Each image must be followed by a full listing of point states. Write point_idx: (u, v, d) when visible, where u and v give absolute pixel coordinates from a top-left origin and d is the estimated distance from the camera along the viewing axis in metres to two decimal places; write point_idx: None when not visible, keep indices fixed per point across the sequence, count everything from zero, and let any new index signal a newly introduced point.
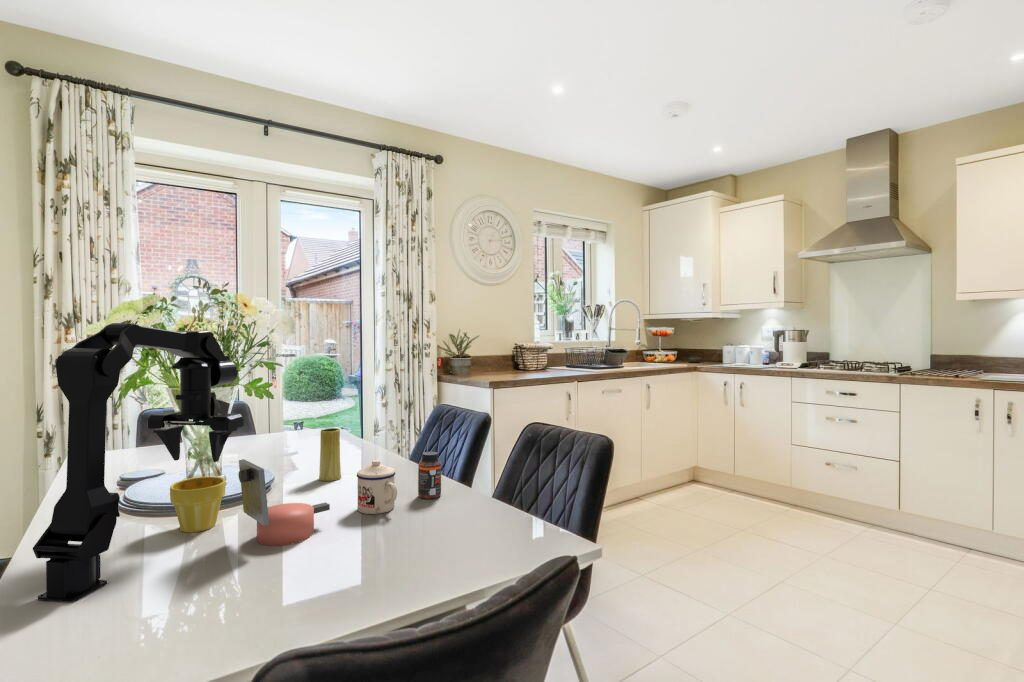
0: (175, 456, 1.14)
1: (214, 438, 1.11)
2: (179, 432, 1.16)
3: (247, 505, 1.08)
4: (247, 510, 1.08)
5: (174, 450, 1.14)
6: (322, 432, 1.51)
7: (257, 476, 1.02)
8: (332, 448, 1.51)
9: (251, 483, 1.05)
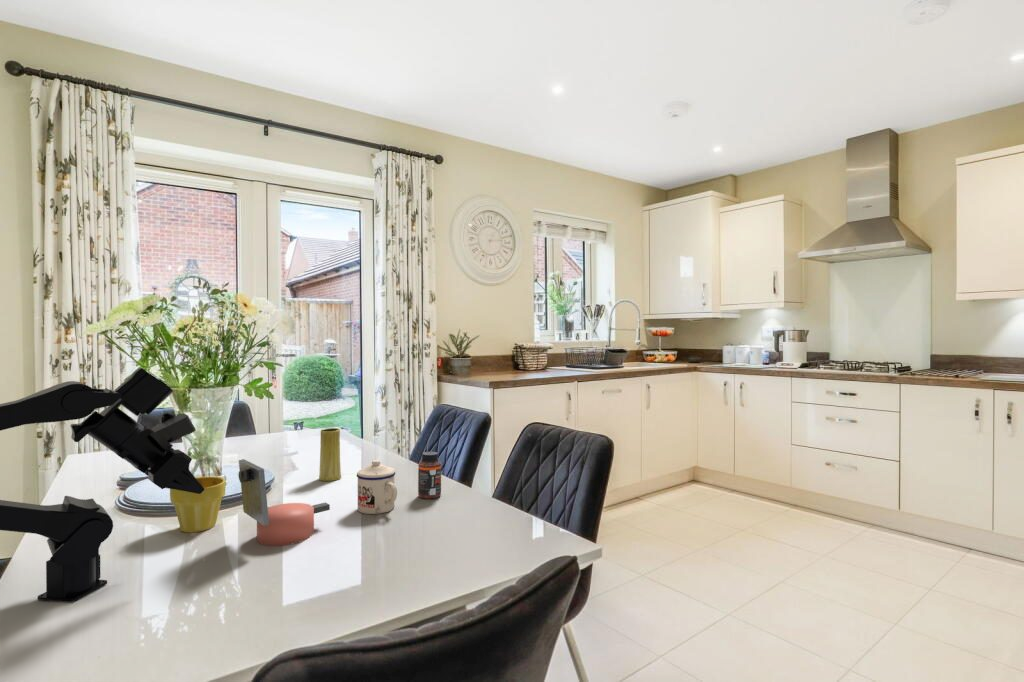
0: None
1: (168, 487, 0.91)
2: None
3: (247, 505, 1.08)
4: (247, 510, 1.08)
5: None
6: (322, 432, 1.51)
7: (257, 476, 1.02)
8: (332, 448, 1.51)
9: (251, 483, 1.05)
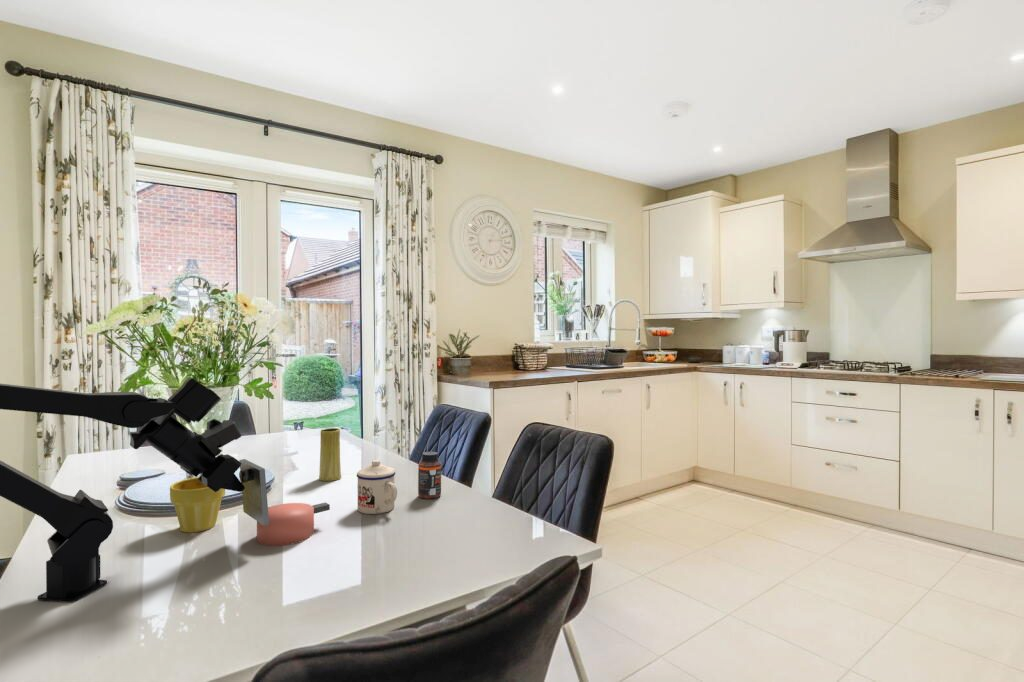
0: None
1: None
2: None
3: (247, 505, 1.08)
4: (247, 510, 1.08)
5: None
6: (322, 432, 1.51)
7: (258, 476, 1.02)
8: (332, 448, 1.51)
9: (252, 483, 1.05)
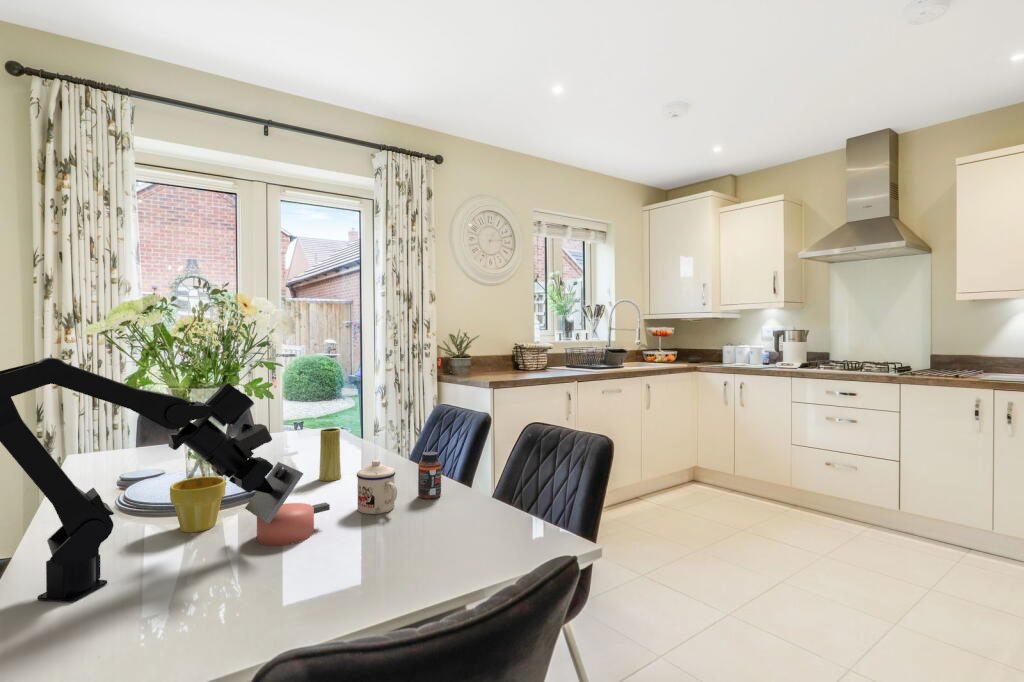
0: None
1: None
2: None
3: (256, 502, 1.09)
4: (251, 506, 1.09)
5: None
6: (322, 432, 1.51)
7: (293, 476, 1.07)
8: (332, 448, 1.51)
9: (279, 482, 1.09)
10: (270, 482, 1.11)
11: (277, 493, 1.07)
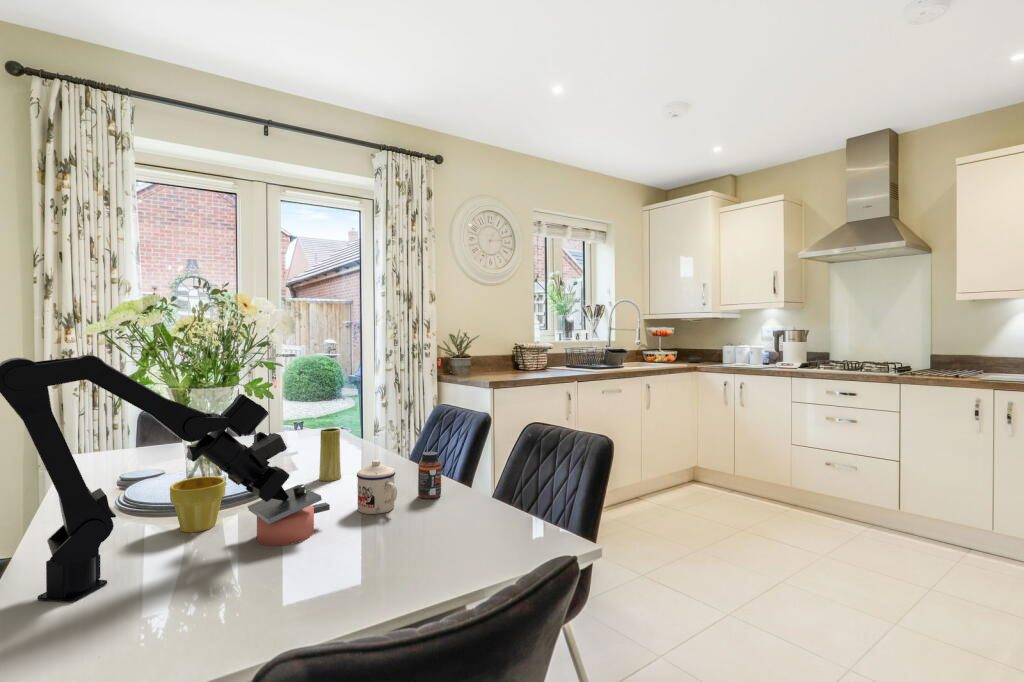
0: None
1: None
2: None
3: (262, 504, 1.10)
4: (256, 506, 1.10)
5: None
6: (322, 432, 1.51)
7: (312, 497, 1.10)
8: (332, 448, 1.51)
9: (294, 497, 1.11)
10: None
11: (289, 504, 1.08)
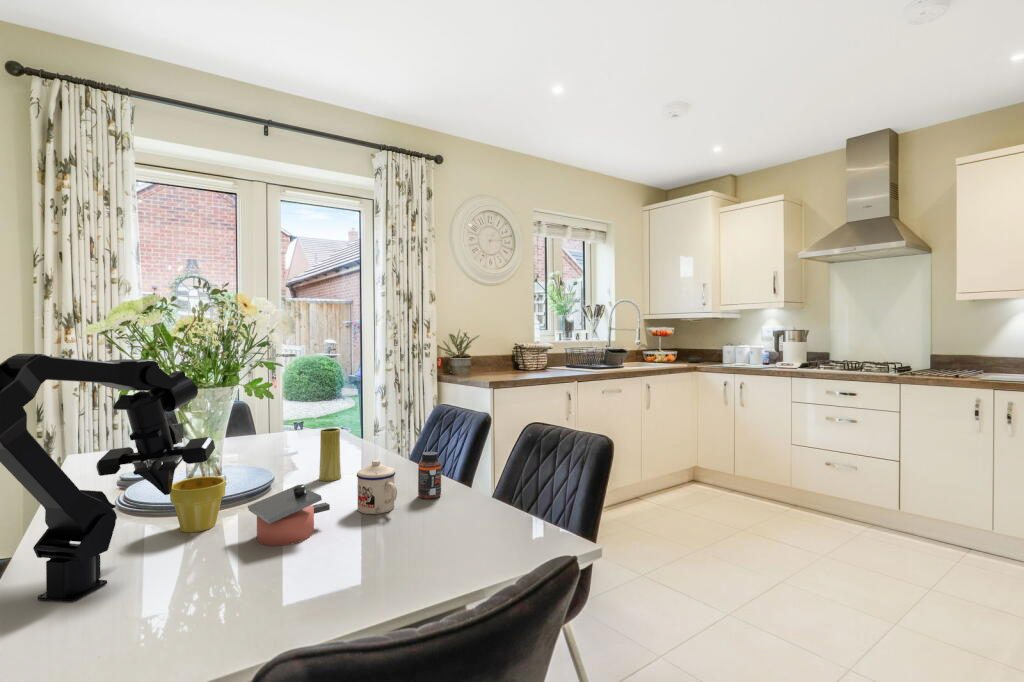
0: (165, 491, 1.04)
1: (166, 474, 1.01)
2: (160, 465, 1.04)
3: (262, 504, 1.10)
4: (256, 506, 1.10)
5: None
6: (322, 432, 1.51)
7: (312, 497, 1.10)
8: (332, 448, 1.51)
9: (294, 497, 1.11)
10: (284, 495, 1.13)
11: (289, 504, 1.08)
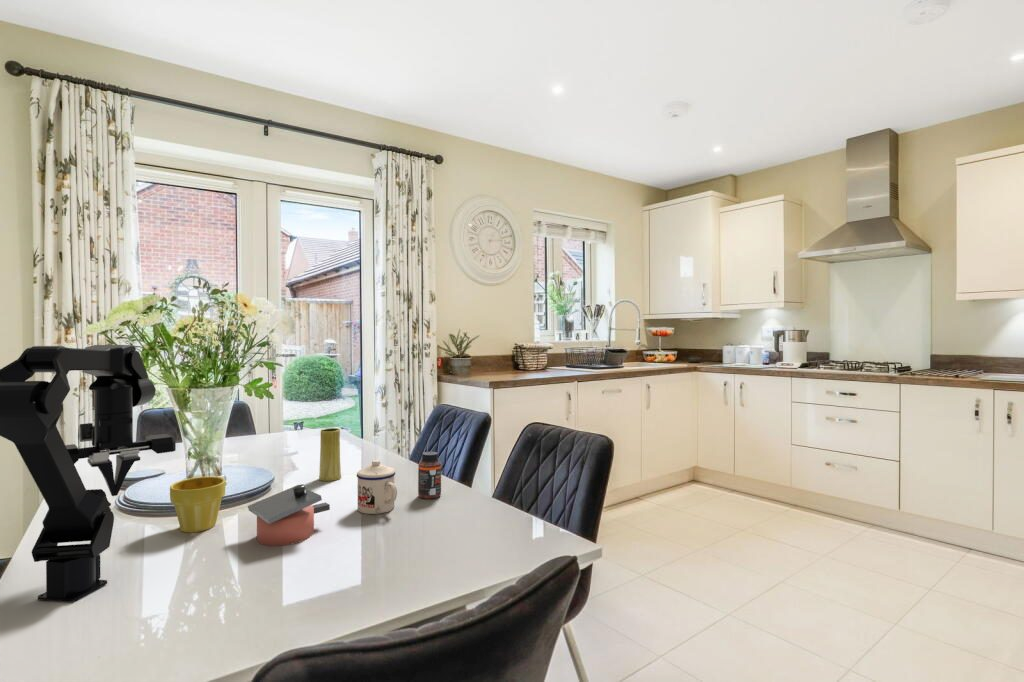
0: None
1: (128, 466, 0.98)
2: None
3: (262, 504, 1.10)
4: (256, 506, 1.10)
5: None
6: (322, 432, 1.51)
7: (312, 497, 1.10)
8: (332, 448, 1.51)
9: (294, 497, 1.11)
10: (284, 495, 1.13)
11: (289, 504, 1.08)
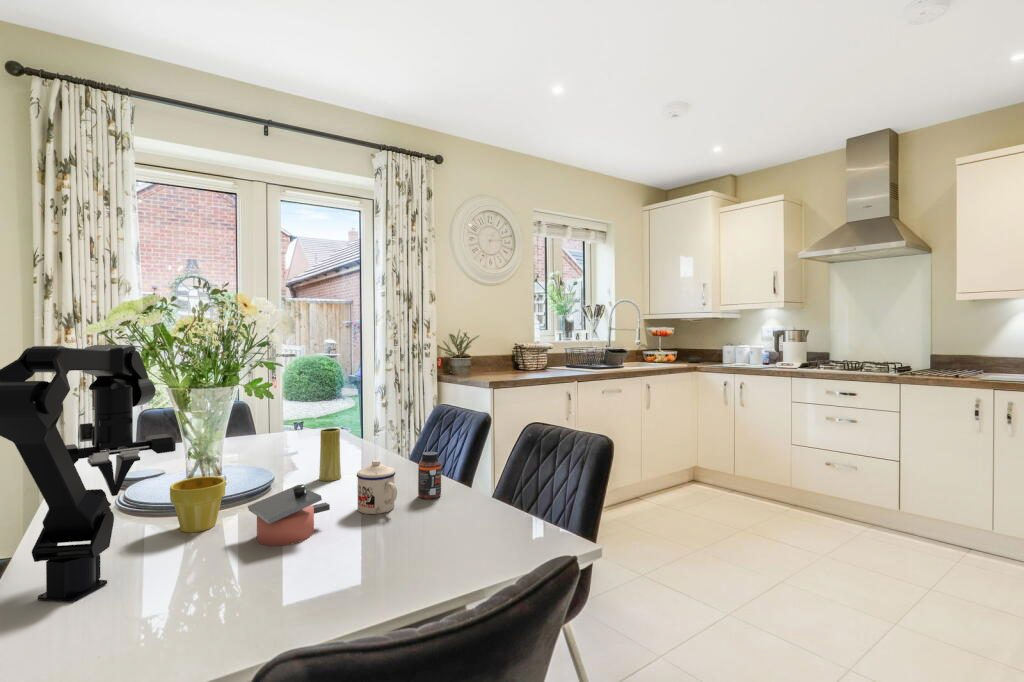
0: None
1: (128, 466, 0.98)
2: None
3: (262, 504, 1.10)
4: (256, 506, 1.10)
5: None
6: (322, 432, 1.51)
7: (312, 497, 1.10)
8: (332, 448, 1.51)
9: (294, 497, 1.11)
10: (284, 495, 1.13)
11: (289, 504, 1.08)
